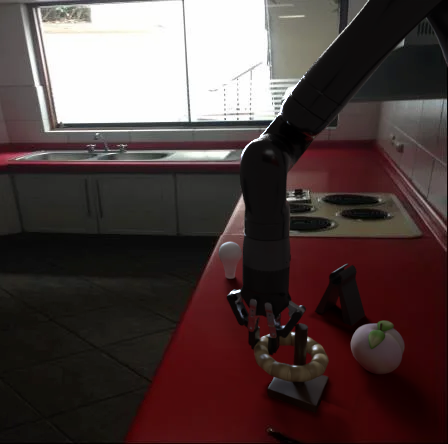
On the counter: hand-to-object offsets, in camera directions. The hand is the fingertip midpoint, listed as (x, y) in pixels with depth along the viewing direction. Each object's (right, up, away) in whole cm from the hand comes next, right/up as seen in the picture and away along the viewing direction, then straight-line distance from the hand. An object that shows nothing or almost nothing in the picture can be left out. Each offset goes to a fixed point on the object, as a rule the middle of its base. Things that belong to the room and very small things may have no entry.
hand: (263, 349), depth 73 cm
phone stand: (+21, +1, +19) cm, 29 cm away
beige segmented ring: (+4, 0, -3) cm, 5 cm away
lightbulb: (+1, +6, +39) cm, 40 cm away
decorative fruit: (+20, -5, +2) cm, 21 cm away
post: (+6, -6, -2) cm, 9 cm away
